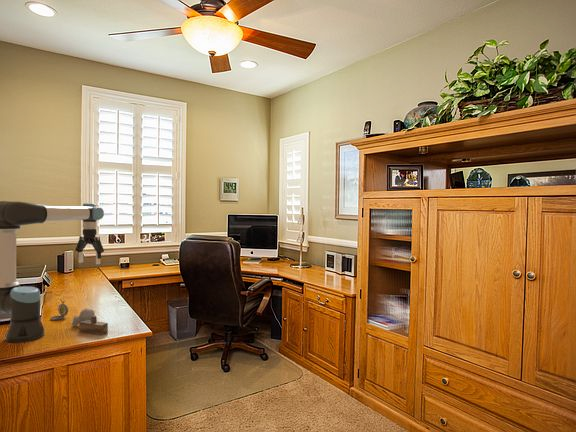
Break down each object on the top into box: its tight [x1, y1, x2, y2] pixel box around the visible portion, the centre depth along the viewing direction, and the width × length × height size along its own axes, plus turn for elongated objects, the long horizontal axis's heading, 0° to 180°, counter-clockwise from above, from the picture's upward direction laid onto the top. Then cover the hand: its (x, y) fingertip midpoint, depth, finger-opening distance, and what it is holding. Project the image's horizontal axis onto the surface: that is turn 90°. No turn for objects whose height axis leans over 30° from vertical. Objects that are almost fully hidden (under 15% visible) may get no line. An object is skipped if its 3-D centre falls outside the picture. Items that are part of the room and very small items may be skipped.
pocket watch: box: [50, 300, 69, 321], centre depth 209 cm, size 8×8×10 cm
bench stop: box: [79, 315, 109, 336], centre depth 187 cm, size 4×14×8 cm, turn 71°
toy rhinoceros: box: [69, 308, 98, 328], centre depth 198 cm, size 7×12×8 cm, turn 117°
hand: (89, 263), depth 229 cm, fingers open, 13 cm apart
